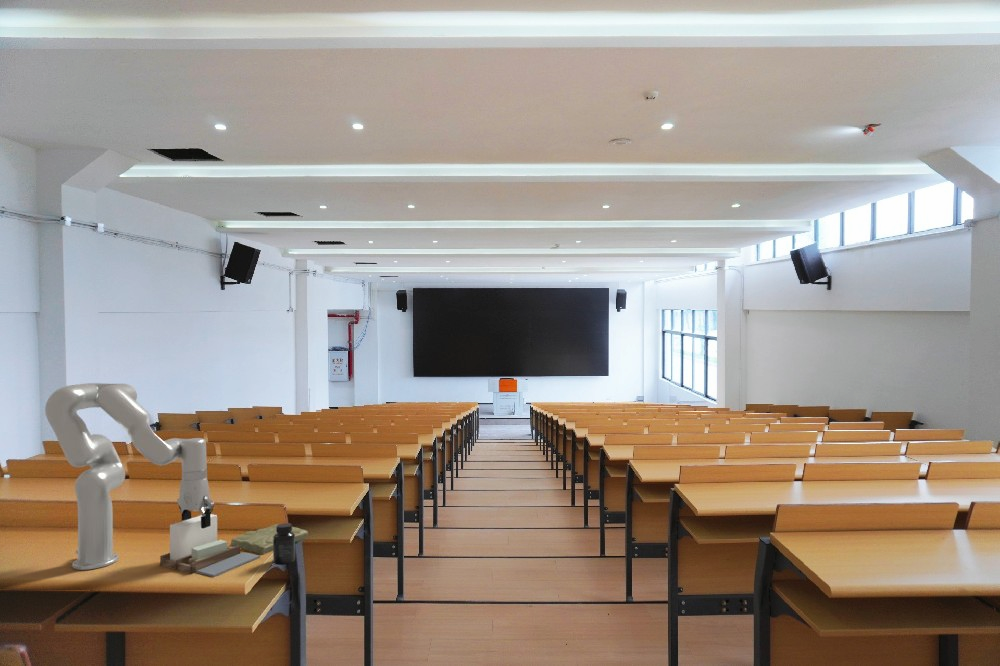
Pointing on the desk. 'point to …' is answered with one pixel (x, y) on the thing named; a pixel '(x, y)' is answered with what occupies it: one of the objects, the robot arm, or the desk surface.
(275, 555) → the supplement bottle
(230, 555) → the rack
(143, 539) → the desk surface
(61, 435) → the robot arm
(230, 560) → the mat
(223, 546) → the offcut upper
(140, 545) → the desk surface
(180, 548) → the off-white rectangular prism
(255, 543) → the decorative tile
